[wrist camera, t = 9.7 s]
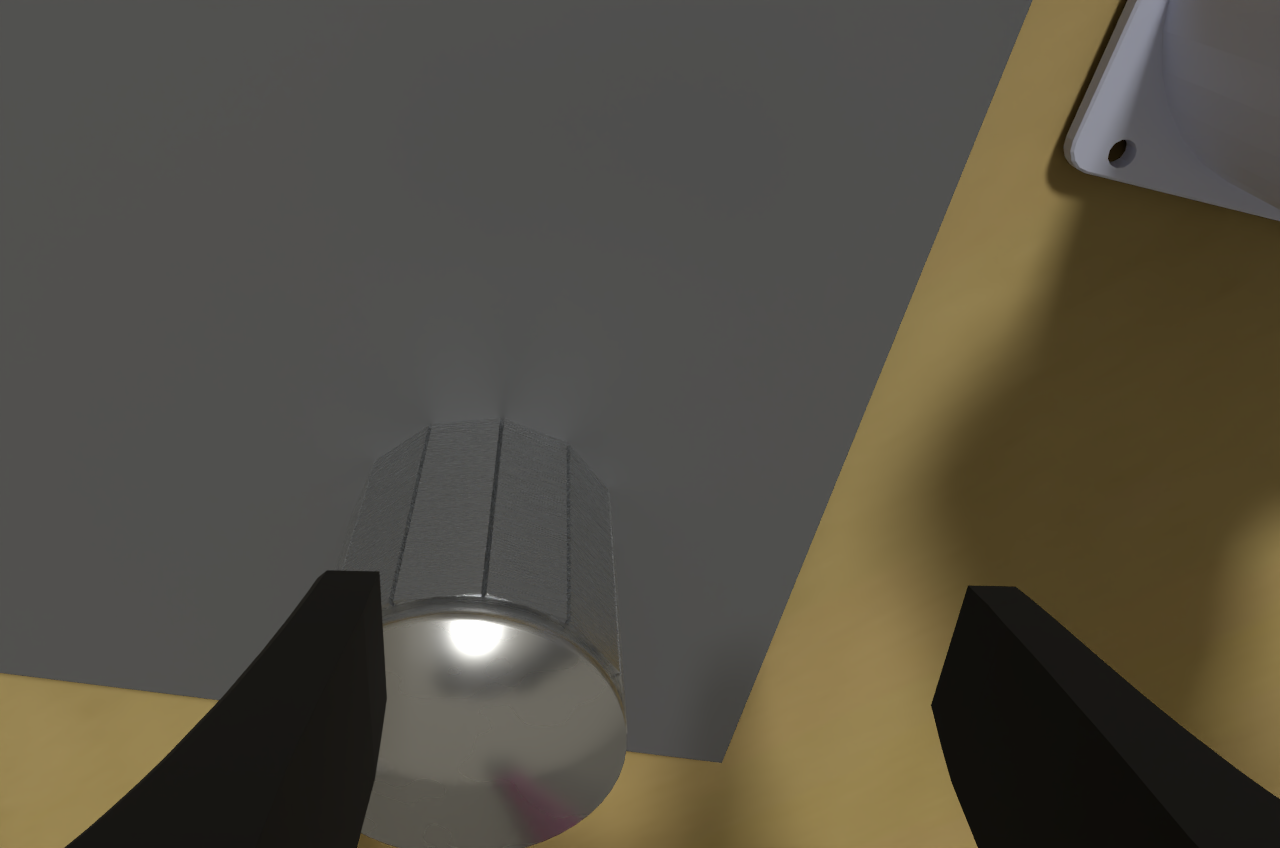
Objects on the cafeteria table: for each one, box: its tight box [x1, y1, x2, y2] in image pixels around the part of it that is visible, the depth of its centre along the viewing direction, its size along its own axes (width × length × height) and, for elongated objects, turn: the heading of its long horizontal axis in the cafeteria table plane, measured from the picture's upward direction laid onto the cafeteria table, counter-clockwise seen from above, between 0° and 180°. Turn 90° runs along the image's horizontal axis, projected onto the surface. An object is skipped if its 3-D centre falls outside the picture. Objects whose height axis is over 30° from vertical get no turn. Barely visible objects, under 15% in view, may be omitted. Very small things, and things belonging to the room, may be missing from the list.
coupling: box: [335, 418, 627, 848], centre depth 19 cm, size 5×5×6 cm
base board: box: [0, 0, 1032, 763], centre depth 20 cm, size 20×20×1 cm
